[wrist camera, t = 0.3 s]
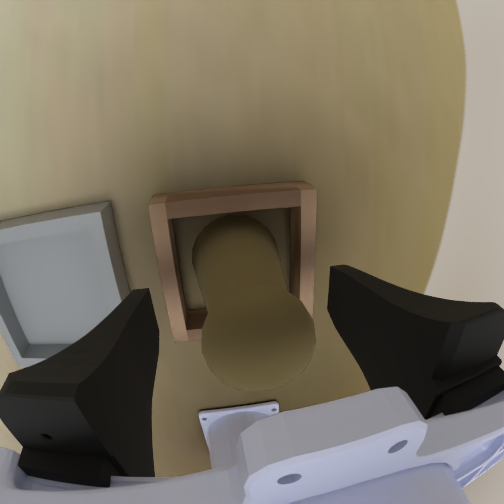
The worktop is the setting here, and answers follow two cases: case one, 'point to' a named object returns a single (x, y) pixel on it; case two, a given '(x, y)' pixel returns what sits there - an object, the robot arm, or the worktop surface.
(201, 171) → the worktop surface
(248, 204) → the wooden square frame
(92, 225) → the tray
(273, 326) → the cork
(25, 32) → the worktop surface
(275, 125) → the worktop surface
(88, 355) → the robot arm
